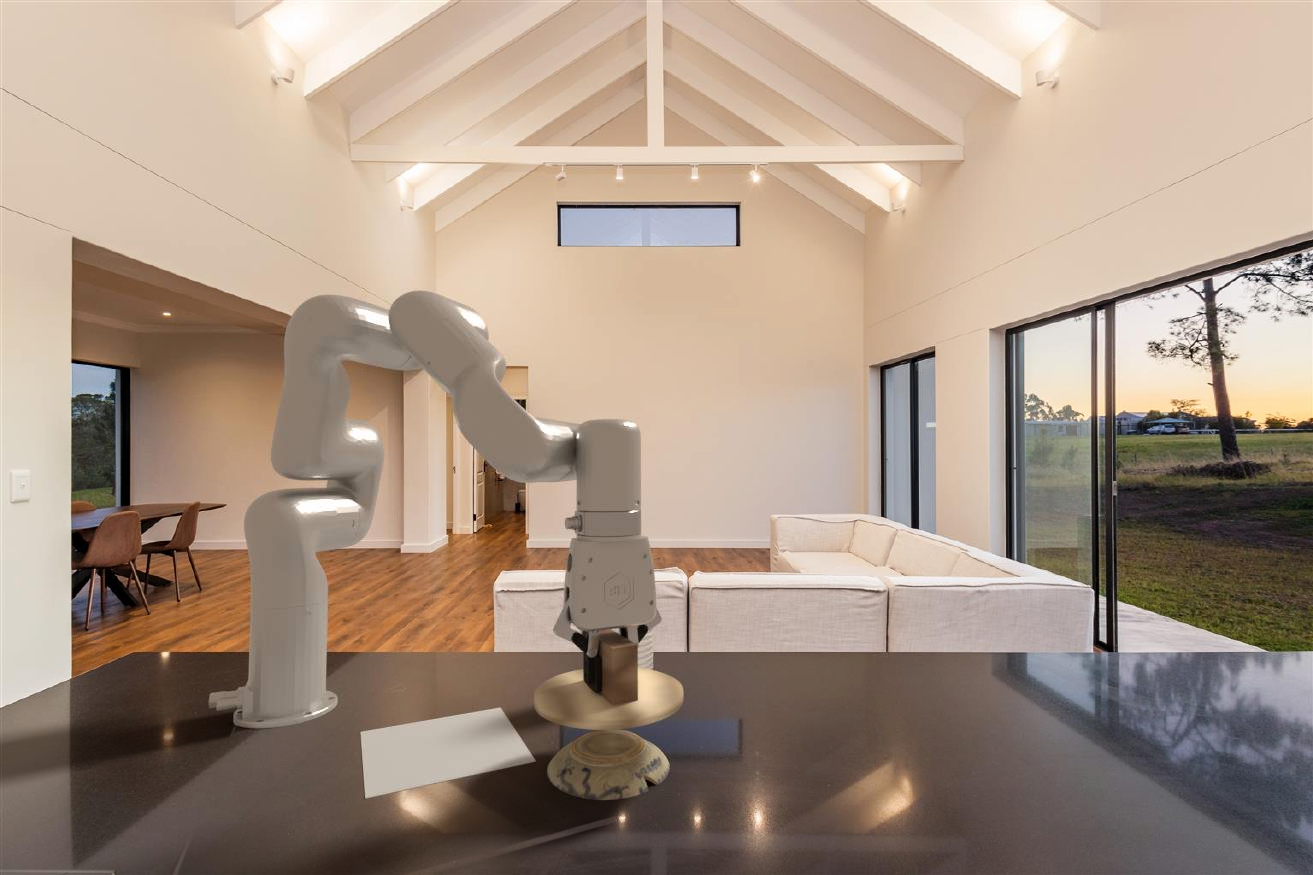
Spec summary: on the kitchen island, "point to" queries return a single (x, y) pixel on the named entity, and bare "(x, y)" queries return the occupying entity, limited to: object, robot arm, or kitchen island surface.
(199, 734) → the kitchen island surface
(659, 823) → the kitchen island surface
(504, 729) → the mat
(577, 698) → the lid
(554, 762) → the decorative bowl
